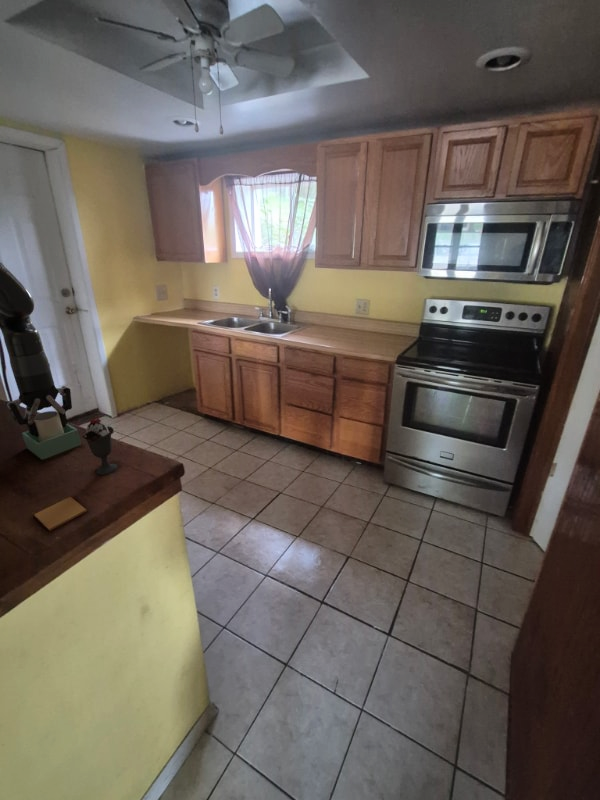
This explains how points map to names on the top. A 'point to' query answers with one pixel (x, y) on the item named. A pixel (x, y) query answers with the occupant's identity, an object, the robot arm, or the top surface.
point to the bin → (53, 443)
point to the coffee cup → (48, 425)
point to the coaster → (60, 513)
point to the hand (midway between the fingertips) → (49, 430)
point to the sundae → (100, 444)
